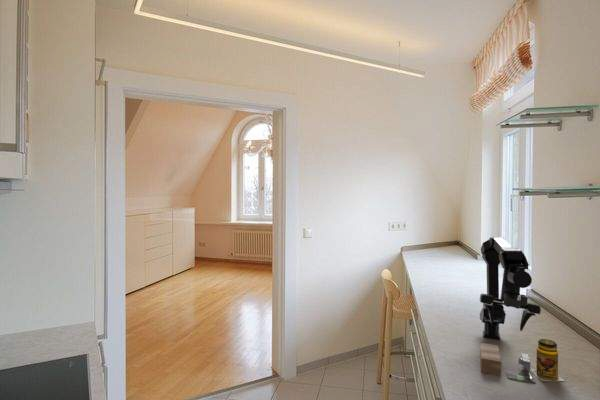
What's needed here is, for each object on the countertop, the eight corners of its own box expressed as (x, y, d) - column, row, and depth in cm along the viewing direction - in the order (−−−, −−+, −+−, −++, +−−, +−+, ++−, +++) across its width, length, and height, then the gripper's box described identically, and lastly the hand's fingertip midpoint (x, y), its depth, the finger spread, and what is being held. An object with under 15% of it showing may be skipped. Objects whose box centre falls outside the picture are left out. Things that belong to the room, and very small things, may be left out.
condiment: (542, 381, 123) (543, 345, 122) (527, 369, 131) (528, 335, 131) (565, 381, 123) (565, 345, 122) (548, 369, 131) (548, 335, 131)
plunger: (517, 364, 133) (517, 352, 133) (527, 365, 132) (527, 353, 132) (521, 378, 123) (521, 365, 123) (532, 380, 122) (532, 367, 122)
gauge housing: (480, 355, 142) (480, 342, 141) (529, 363, 135) (529, 350, 135) (481, 373, 128) (481, 359, 128) (535, 383, 121) (536, 368, 121)
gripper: (484, 280, 131) (479, 325, 130) (546, 292, 124) (541, 339, 123) (482, 278, 141) (477, 319, 140) (539, 288, 134) (534, 332, 133)
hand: (506, 327), depth 134 cm, fingers open, 9 cm apart
